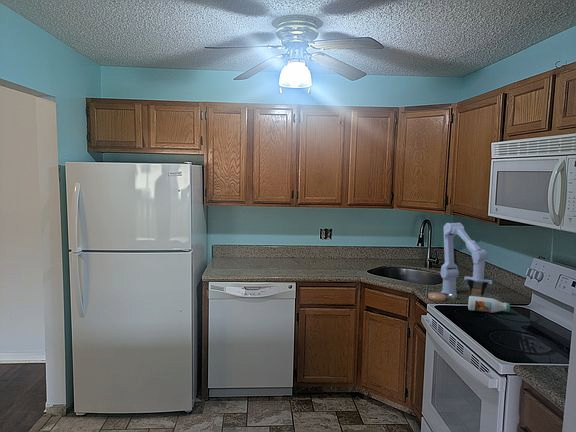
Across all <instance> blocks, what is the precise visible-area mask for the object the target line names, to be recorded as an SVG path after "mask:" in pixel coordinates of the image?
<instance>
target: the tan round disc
mask: <svg viewBox="0 0 576 432" xmlns="http://www.w3.org/2000/svg"><path fill="white" fill-rule="evenodd" d="M427 299H428V300H430V301H433V302H445V301H447V294H446V293H440V292H437V291H436V292H435V291H433V292H431V291H430V292H429V293H428V294H427Z"/></svg>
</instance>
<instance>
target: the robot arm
mask: <svg viewBox="0 0 576 432" xmlns="http://www.w3.org/2000/svg"><path fill="white" fill-rule="evenodd" d="M457 235H458V237H459V238H461V240H463V242H464V243H465V247H466V249H467V250H468V251H469V253H470V254H471V259H472V263H473V269H472V276H468V275H467V276H466V275H465V276H464V279H463V280H464V281H467V284H468V287H469V290H470V295H471V294H472V288H473V287H474V282H477V283H481V288H482V293H481V295H482V296H484V294H485V290H486V288H487V287H488V285H493V279H488V278H484V277H485V264H486V263H485V262H486V260H487V259H488V256H489V255H488V252H487V250H486V249H483V248H481V247H480V246H479V244H478V242H477V241H476V240H473V239H472V238H470V235H469V234H468V233H467V232H466V230H465V226H464V225H463V224H462V223H461V222H446V223H445V224H444V225H443V251H444V252H443V253H444V263H443V264H442V265H441V267H440V276H441V279H442V290H441V291H440V292H439V293H442V294H445V295H448V293H449V292H453V293H457V292H458V290H456V288H457V287H456V286H457V281H456V279H457V278H458V277H459V275H460V272H459V269H458V265H457V264H456V263H455V255H454V254H455V252H454V237H455V236H457Z"/></svg>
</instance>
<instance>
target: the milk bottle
mask: <svg viewBox="0 0 576 432" xmlns="http://www.w3.org/2000/svg"><path fill="white" fill-rule="evenodd" d="M467 302H468V303H467V304H468V305H467V308H468V310H469V311H474V312H475V311H476V312H482V313H492V314H494V313H497V312H508V313H509V312H510V310H511V304H510V302H502V301H499V300H497V299H495V298H491V297H476V296H471V295H469V296H468V300H467Z"/></svg>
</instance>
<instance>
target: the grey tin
mask: <svg viewBox="0 0 576 432" xmlns="http://www.w3.org/2000/svg"><path fill="white" fill-rule="evenodd" d="M457 297H458V294H457V292H456V293H453V292H449V293H448V294H447V298H448V299H449V300H457V299H458V298H457Z"/></svg>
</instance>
